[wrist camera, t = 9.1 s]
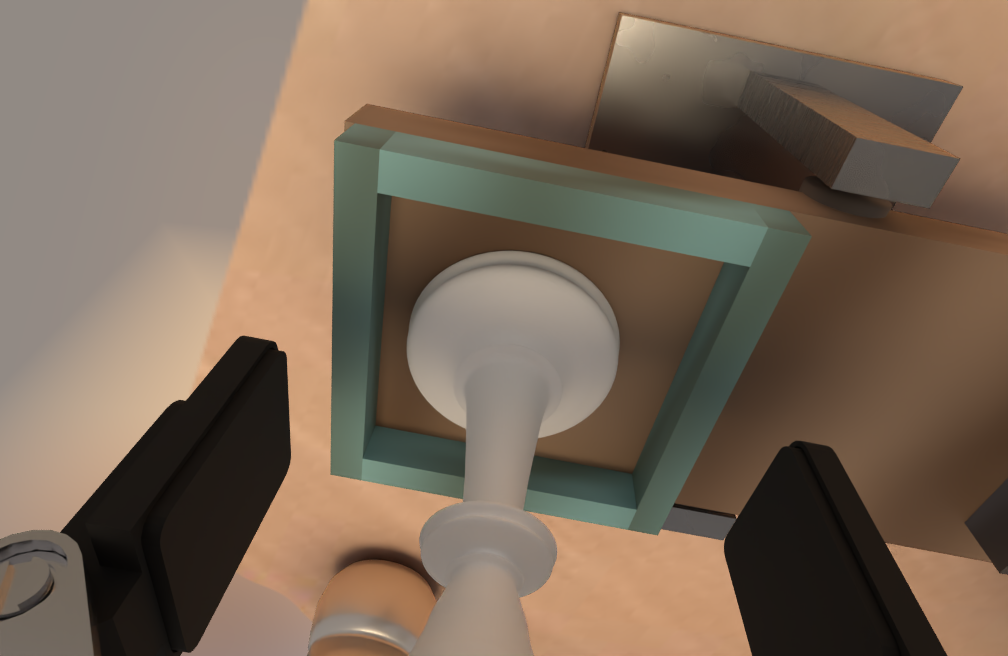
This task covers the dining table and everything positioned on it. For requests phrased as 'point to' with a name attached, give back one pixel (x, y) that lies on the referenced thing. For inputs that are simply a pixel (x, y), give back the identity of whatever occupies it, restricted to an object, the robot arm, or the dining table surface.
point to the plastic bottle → (371, 611)
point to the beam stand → (768, 128)
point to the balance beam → (683, 331)
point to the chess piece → (502, 429)
